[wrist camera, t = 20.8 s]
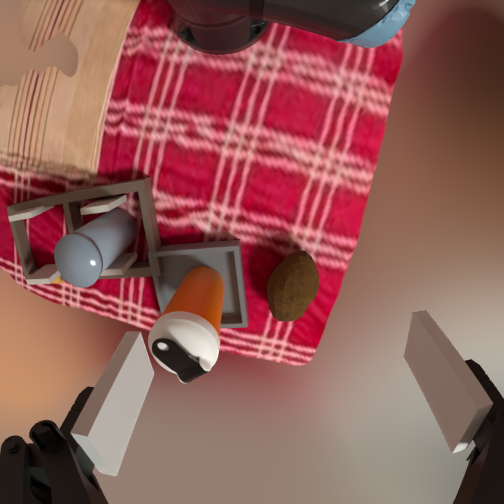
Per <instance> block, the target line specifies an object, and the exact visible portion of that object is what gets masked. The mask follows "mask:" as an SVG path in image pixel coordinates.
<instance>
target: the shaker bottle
mask: <svg viewBox="0 0 504 504" xmlns="http://www.w3.org/2000/svg"><path fill="white" fill-rule="evenodd" d="M224 291H225V284H224V281H223V278H222V277H221V275H220V274H219V273H218V272H217V271H215V270H214V269H212V268H209V267H202V266H201V267H196V268H193V269H191V270H190V271H189V272H188V273H187V274H186V275H185V277H184V279H183V280H182V282H181V283H180V285H179V287H178V288H177V290H176V292H175V293H174V295H173V297H172V298H171V300H170V301H169V303H168V305H167V306H166V308H165V310H164V311H163V313H162V315H161V316H160V317H159V318H158V319H157V320H156V321H155V323H154V324H153V327H152V329H151V331H150V334H149V337H148V344H149V349H150V351H151V353H152V355H153V357H154V358H155V360H156V361H157V362H158V363H159V364H160V365H161V366H162V367H163V368H165V369H166V370H168V371H170V372H172V373H175V374H177V377H178V379H179V380H180V381H181V382H183V383H188V382H190V381H192V380H194V379H196V378H198V377H199V376H201V375H203V374H205V373H207V372H209V371H210V370H211V367H212V366H213V365H214V364H215V362H216V360H217V358H218V353H219V349H220V339H219V334H220V325H221V316H222V308H223V299H224Z"/></svg>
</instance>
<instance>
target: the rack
mask: <svg viewBox="0 0 504 504" xmlns="http://www.w3.org/2000/svg"><path fill="white" fill-rule="evenodd" d="M137 191H138V194H139V200H140V206H141V212H142V218H143V223H144V229H145V234H146V239H147V245H148V250H149V253H150V254H151V252H152V253H153V252H155V254H156V252H157V250H158V249H159V248H160V247H161V241H160V235H159V230H158V224H157V218H156V212H155V206H154V200H153V193H152V186H151V179H150V177H147V178H140V179H134V180H127V181H121V182H115V183H110V184H104V185H98V186H93V187H88V188H82V189H77V190H72V191H67V192H63V193H58V194H53V195H49V196H44V197H40V198H35V199H31V200H27V201H23V202H19V203H15V204H13V205H10V206H8V207H7V211H8V216H9V220H10V224H11V228H12V233H13V236H14V240H15V244H16V248H17V251H18V255H19V258H20V262H21V265H22V268H23V271H24V275H25V278H26V281H27V284H28V285H29V284H50V283H63V282H64V281H66V280H65V279H64V278H63V277H62V276H61V274H60V273H59V271H58V269H57V267H56V264H48V265H44V266H43V267H42V268H38V269H36V266H35V262H34V259H33V255H32V252H31V248H30V244H29V241H28V237H27V233H26V229H25V224H24V220H23V219H27V218H32V217H34V216H36V215H38V214H40V213H42V212H44V211H47V210H49V209H51V208H53V207H54V205H59V204H63V208H64V213H65V218H66V222H67V227H68V231H69V233H73V232H75V231H76V230H78V229H79V228H81V227H82V222H81V218H80V213H79V208H78V203H77V201H80V200H86V199H92V198H98V197H104V196H110V195H116V194H123V193H130V192H137ZM126 201H127V198H126V195H121V196H115V197H108V198H102V199H99V200H97V201H95V202H93V203H91V204H89V205H87V206H85V207H83V208H81V209H80V211H81V215H87V214H93V213H100V212H107V211H110V210H112V209H114V208H115V207H117V206H119V205H120V204H122V203H124V202H126ZM152 255H153V254H152ZM152 257H153V256H152ZM137 258H138V255H137V252H133V253H122V254H121V255H120V256H119V257H118V258H117V259H116V260H115V261H114V262H112V263H111V264H110V265H109V266H108V267H107V268H106V269H105V270H104V271H103V272H102V273H101V275H100V277H99V278H98V279H111V278H130V277H148V276H152V275H153V274H152V271H151V268H152V267H150V263H149V261H137V262H135V260H136V259H137ZM150 258H151V257H150ZM151 259H152V258H151ZM153 260H154V262H153V263H154V265H155V268H154V267H153V268H154V269H155V270H156V271H155V270H154V269H153V270H154V271H155V272H156V275H157V276H161V275H162V273H163V272H164V265H163V260H162V256H161V257H156V256H155V257H153ZM151 264H152V262H151ZM154 274H155V273H154ZM153 276H155V275H153Z"/></svg>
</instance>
